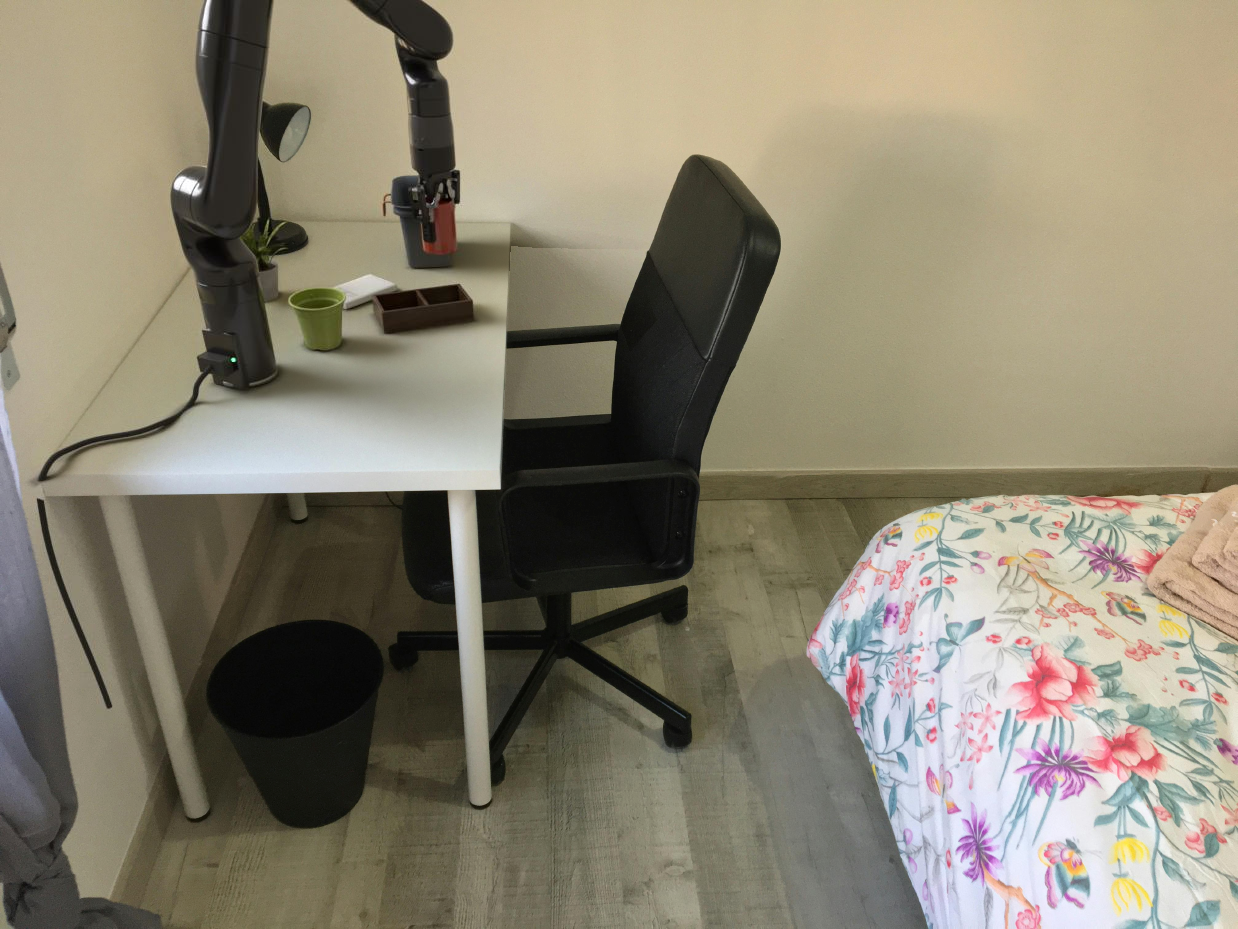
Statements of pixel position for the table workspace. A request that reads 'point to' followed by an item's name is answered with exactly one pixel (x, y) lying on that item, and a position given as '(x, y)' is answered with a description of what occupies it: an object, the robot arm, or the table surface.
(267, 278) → the house plant
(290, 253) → the table surface
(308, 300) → the plant pot
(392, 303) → the caddy
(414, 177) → the storage bin
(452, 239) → the cup
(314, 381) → the table surface
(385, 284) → the hard drive
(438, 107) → the robot arm
